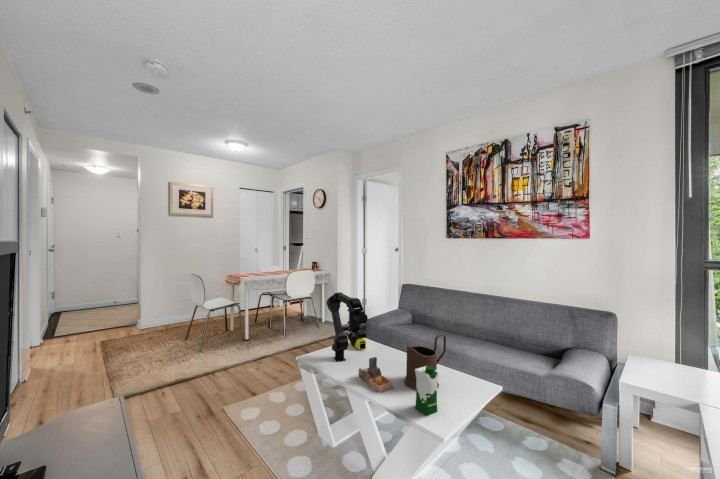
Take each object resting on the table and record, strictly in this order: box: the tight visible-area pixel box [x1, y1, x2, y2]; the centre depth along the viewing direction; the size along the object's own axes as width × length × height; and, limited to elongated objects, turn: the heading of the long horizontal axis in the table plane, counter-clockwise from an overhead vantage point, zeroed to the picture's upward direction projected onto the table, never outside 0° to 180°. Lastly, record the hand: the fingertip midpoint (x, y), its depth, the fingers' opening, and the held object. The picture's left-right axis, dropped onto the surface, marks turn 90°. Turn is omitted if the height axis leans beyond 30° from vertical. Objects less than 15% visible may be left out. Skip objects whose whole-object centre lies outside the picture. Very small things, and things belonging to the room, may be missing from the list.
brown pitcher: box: [403, 333, 447, 391], centre depth 169 cm, size 18×24×25 cm
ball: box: [375, 376, 382, 385], centre depth 165 cm, size 4×4×4 cm
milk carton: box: [414, 366, 440, 417], centre depth 142 cm, size 9×9×20 cm
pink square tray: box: [367, 375, 394, 393], centre depth 163 cm, size 9×9×3 cm
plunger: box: [367, 356, 381, 377], centre depth 168 cm, size 4×5×8 cm
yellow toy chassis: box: [349, 338, 367, 351], centre depth 223 cm, size 16×6×8 cm, turn 27°
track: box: [358, 367, 382, 385], centre depth 171 cm, size 10×8×5 cm
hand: (353, 346), depth 186 cm, fingers closed
